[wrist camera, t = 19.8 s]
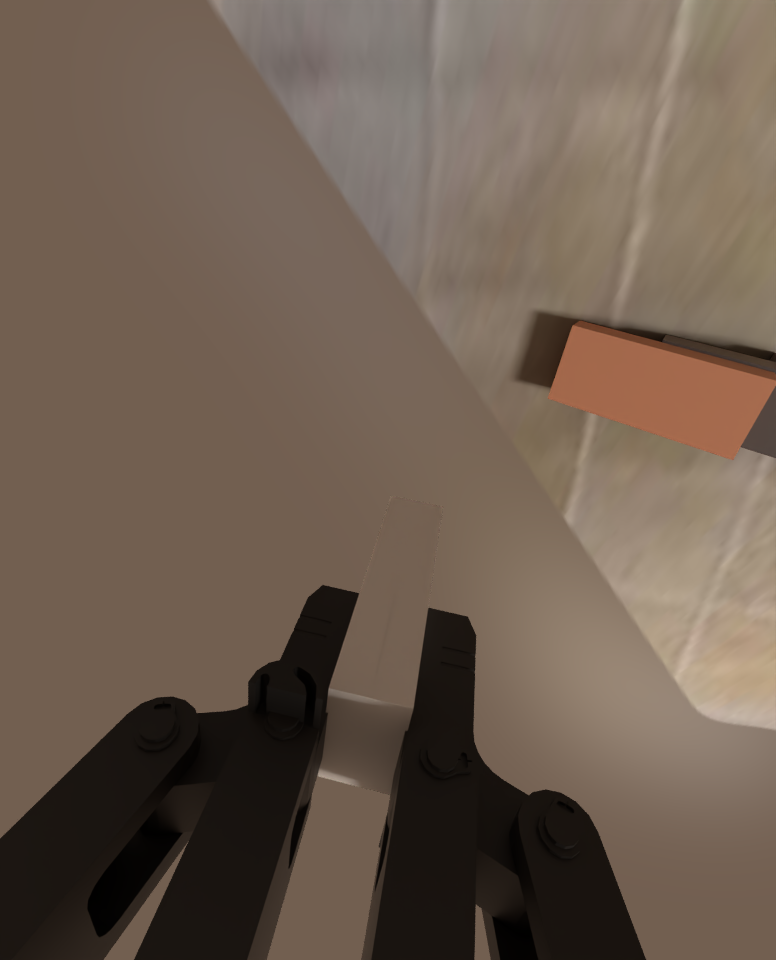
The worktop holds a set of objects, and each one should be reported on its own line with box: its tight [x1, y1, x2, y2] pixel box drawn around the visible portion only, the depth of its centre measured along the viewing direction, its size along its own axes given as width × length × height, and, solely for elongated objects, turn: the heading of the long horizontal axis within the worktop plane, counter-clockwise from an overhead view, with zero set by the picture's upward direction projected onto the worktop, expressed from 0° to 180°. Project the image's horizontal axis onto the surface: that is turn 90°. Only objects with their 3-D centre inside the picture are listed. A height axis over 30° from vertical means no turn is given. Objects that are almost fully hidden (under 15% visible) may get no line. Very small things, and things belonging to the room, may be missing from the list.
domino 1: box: [548, 321, 776, 460], centre depth 34 cm, size 2×5×12 cm
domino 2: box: [662, 334, 776, 458], centre depth 34 cm, size 2×5×12 cm
